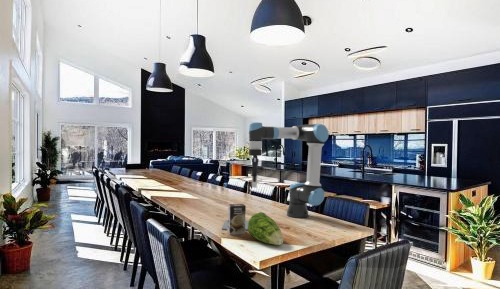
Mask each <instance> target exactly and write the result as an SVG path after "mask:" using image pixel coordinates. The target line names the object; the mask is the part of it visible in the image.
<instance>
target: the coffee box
mask: <svg viewBox="0 0 500 289" xmlns="http://www.w3.org/2000/svg"><path fill="white" fill-rule="evenodd" d="M227 206H228V207H227V210H228V212H227V220H228V230H227V233H228V234H229V235H233V236H234V235H245V234H246V231H245V221H246V209H247V206H246V205H245V204H244V203H229V204H227ZM229 235H228V236H229Z"/></svg>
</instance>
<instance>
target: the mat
mask: <svg viewBox="0 0 500 289" xmlns="http://www.w3.org/2000/svg"><path fill="white" fill-rule="evenodd" d="M248 222H249V220H245V232H247V231H248ZM221 231H228V219H227V220H226V219H225V221H224V222H223V225H222V227H221ZM248 232H249V231H248Z"/></svg>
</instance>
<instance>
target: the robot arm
mask: <svg viewBox="0 0 500 289" xmlns="http://www.w3.org/2000/svg"><path fill="white" fill-rule="evenodd" d="M328 138H329V130H328V127H327V126H326V125H324V124H322V123H313V124H312V123H311V124H301V125H293V126H292V127H285V126H283V127H282V126H281V127H277V126H265V125H264V126H263V123H262V122H250V123H249V131H248V140H249V141H248V148H249V149H248V155H249V156H250V157H251V156H252V158H251V166H252V168H251V169H252V174H250V176H251V188H253V189H254V188H258V187H257V186H258V174H259V171H258V166H259V158H258V157H260V156H262V155H263V153H262V152H263V150H262V148H263V140H276V139H280V140H281V139H291V140H294V141H296V140H297V141H303V142H306V145H307V146H308V153H307V154H308V155H307V166H306V167H307V168H306V179H305V182H297V183H296V182H295V183H290V185H289V205H288V208H287V210H286V216H287V217H289V218H295V219H296V218H297V219H304V218H308V217H309V211H308V206H307V204H308V205H310V206H319V205H321V204H322V203H323V202H324V200H325V195H326V193H325V190H324V189H323V188H322V184H321V183H320V180H321V178H320V177H321V165H322V164H321V163H322V148H323V146H324V145H325V142H327V140H328Z"/></svg>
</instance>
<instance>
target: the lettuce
mask: <svg viewBox="0 0 500 289" xmlns="http://www.w3.org/2000/svg"><path fill="white" fill-rule="evenodd" d="M248 221H249V222H248V232H249V234H250V236H251V237H253V238H254V239H255V240H258V241H259V242H262V243H265V244H269V245H275V246H279V245H283V243H284V237H283V234H282V231H281V229H280V227H279V225H278V224H277V223H276V222H275V221H274V219H273V218H271V217H270V216H268V215H267V214H266V213H265V212H261V211H260V212H256V213H254V214H252V215H251V216H250V218H249V220H248Z"/></svg>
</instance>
